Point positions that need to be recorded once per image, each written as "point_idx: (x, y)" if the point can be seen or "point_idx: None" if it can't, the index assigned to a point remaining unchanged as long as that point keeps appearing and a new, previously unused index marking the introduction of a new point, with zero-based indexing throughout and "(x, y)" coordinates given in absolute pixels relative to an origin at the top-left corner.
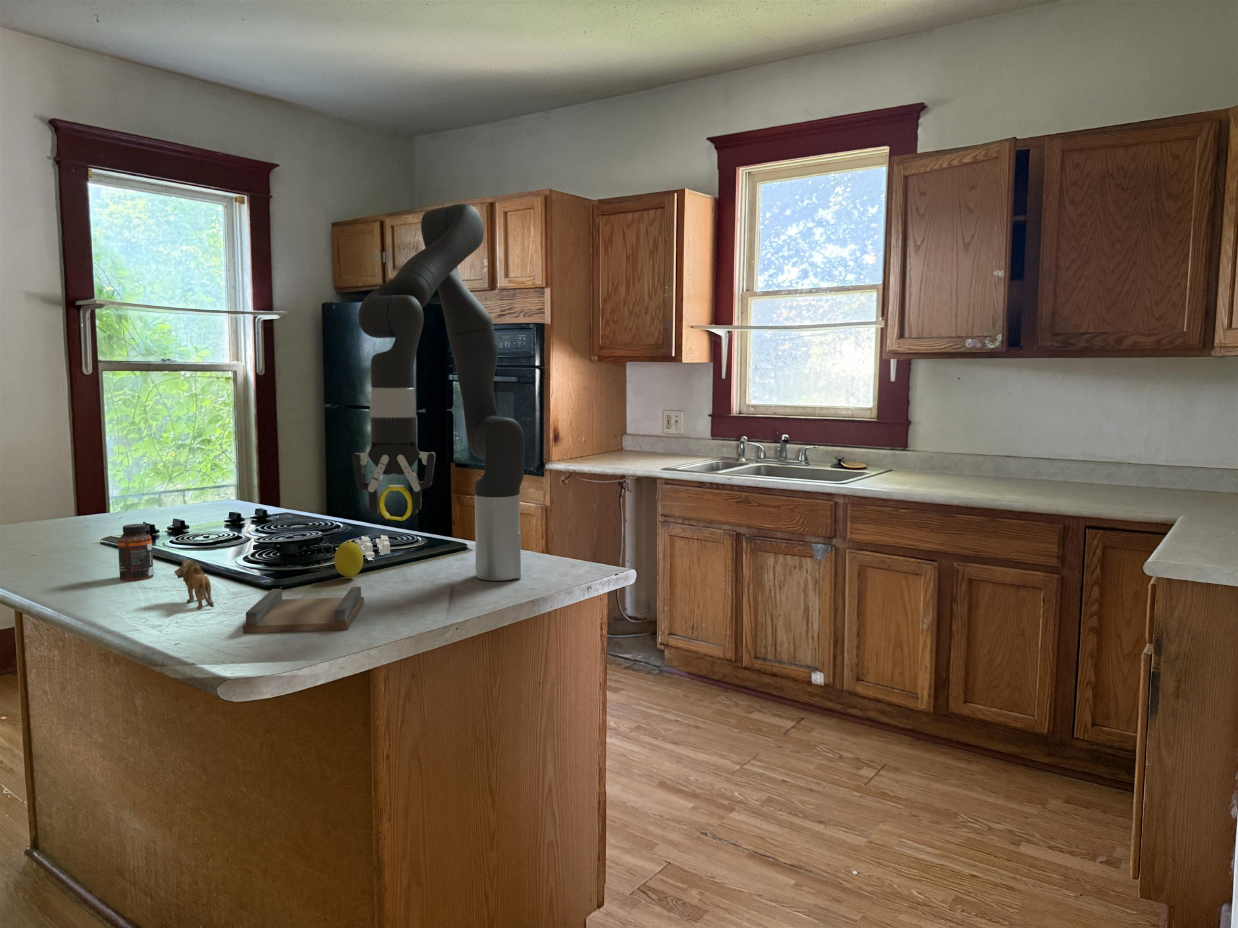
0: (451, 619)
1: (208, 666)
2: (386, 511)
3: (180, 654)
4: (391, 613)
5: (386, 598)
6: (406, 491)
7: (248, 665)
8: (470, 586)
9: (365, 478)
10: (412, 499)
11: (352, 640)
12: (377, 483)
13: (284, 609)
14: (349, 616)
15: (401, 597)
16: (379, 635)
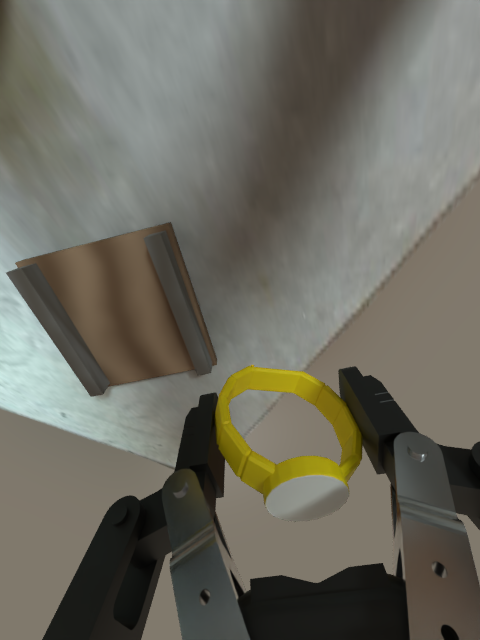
0: (342, 303)
1: (148, 455)
2: (237, 379)
3: (97, 437)
4: (244, 281)
5: (195, 176)
6: (350, 473)
7: None
8: (363, 2)
9: (125, 551)
10: (363, 444)
11: None
12: (226, 549)
13: (89, 318)
14: (206, 341)
15: (222, 163)
16: None
